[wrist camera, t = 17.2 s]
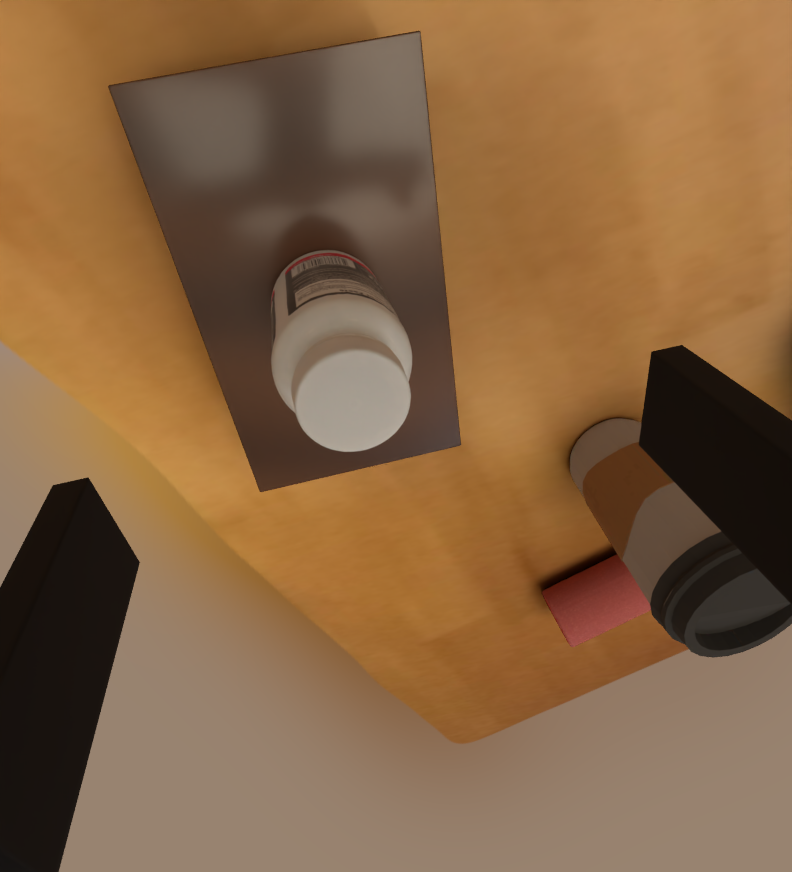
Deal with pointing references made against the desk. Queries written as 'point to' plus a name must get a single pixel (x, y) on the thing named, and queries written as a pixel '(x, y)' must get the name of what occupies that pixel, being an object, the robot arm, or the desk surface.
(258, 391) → the stand
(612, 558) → the blood vessel
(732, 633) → the coffee cup
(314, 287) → the pill bottle
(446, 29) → the desk surface
